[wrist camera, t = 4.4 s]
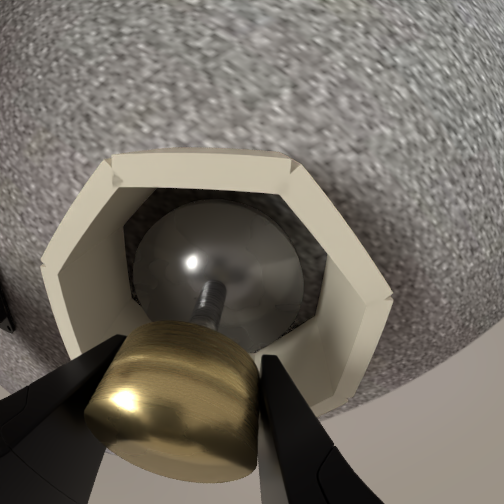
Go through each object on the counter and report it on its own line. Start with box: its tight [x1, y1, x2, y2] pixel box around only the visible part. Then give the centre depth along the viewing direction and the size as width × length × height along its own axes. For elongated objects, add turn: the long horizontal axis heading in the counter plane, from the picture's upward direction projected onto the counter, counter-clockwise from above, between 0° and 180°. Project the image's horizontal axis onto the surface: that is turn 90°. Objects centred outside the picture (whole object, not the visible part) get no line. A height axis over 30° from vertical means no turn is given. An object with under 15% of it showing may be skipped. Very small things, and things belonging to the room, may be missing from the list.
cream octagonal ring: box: [40, 147, 394, 417], centre depth 11 cm, size 11×13×5 cm
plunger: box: [84, 199, 304, 483], centre depth 8 cm, size 7×7×8 cm
